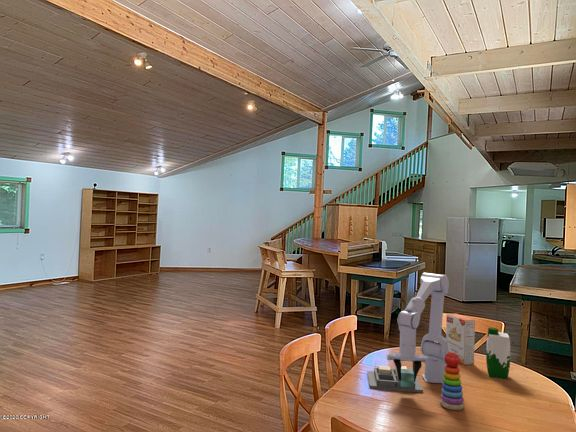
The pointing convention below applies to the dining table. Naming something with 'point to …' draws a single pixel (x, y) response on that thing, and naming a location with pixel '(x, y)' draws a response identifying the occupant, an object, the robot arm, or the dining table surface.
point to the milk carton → (498, 354)
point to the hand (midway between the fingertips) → (406, 380)
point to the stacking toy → (452, 384)
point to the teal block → (407, 378)
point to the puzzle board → (389, 380)
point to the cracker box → (461, 337)
